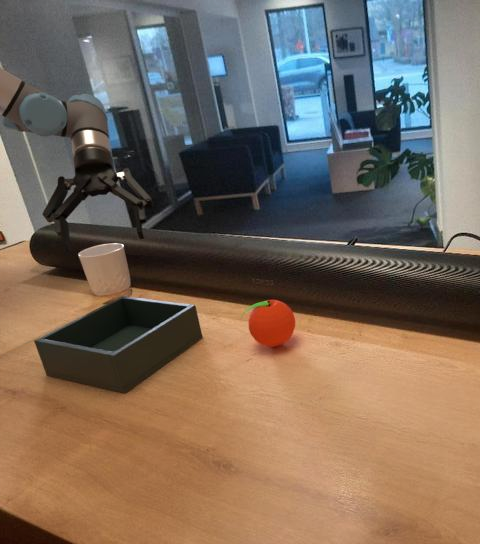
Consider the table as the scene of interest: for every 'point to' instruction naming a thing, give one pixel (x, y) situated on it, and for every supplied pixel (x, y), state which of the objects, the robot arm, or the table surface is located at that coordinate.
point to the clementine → (271, 322)
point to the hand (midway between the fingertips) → (104, 241)
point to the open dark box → (119, 342)
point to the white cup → (106, 270)
